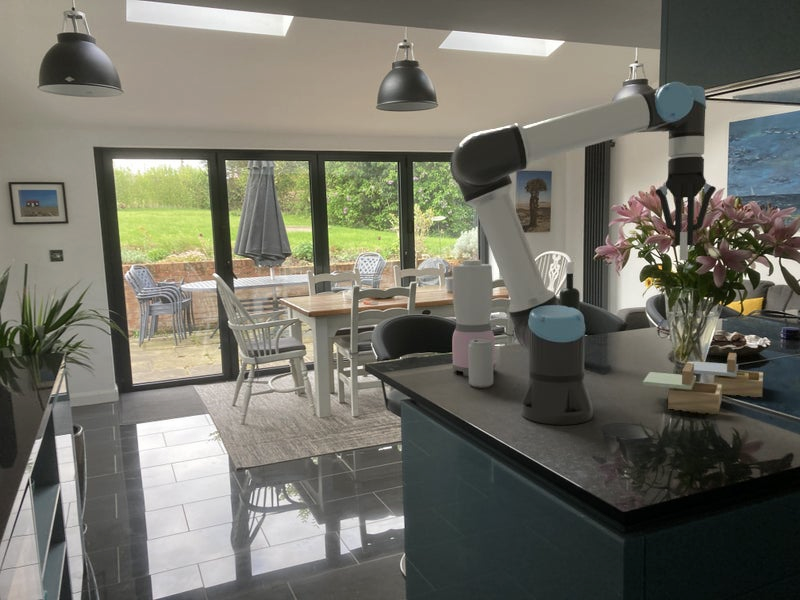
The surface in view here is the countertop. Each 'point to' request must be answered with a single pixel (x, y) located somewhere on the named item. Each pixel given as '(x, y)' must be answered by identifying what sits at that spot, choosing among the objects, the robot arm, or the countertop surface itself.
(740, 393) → the box far
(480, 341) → the beverage can
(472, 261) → the blender
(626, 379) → the countertop surface
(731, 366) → the lid far
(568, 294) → the wine bottle
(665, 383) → the lid near
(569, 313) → the robot arm
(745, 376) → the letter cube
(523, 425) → the countertop surface
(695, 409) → the box near
